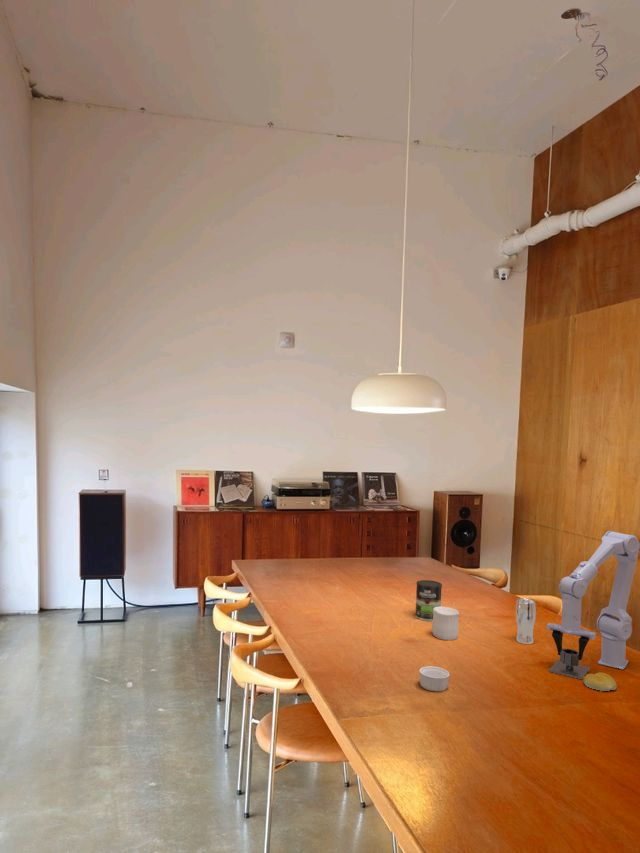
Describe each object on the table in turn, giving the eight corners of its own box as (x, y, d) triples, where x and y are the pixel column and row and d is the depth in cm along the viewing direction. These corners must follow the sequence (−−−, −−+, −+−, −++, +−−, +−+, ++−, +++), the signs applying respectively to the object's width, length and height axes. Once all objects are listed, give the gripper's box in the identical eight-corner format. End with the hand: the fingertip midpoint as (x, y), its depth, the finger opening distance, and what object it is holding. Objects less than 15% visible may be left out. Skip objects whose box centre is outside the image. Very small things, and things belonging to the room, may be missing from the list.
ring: (562, 657, 199) (563, 647, 199) (580, 662, 195) (581, 651, 195) (558, 662, 194) (559, 651, 194) (576, 667, 191) (577, 656, 191)
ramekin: (427, 677, 185) (428, 663, 185) (454, 686, 179) (454, 671, 179) (413, 686, 178) (413, 671, 178) (439, 695, 173) (440, 680, 173)
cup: (451, 642, 217) (452, 615, 217) (426, 636, 223) (427, 610, 223) (462, 636, 225) (463, 610, 225) (438, 630, 231) (439, 604, 231)
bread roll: (577, 682, 186) (578, 669, 186) (602, 680, 188) (602, 667, 188) (596, 694, 178) (596, 680, 178) (621, 691, 180) (622, 678, 180)
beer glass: (519, 636, 226) (520, 597, 226) (537, 641, 222) (538, 600, 222) (511, 641, 221) (513, 600, 221) (530, 646, 217) (532, 604, 217)
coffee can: (439, 622, 240) (440, 587, 240) (413, 619, 243) (414, 584, 243) (441, 615, 250) (443, 581, 250) (417, 612, 253) (418, 579, 253)
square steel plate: (557, 661, 202) (558, 647, 202) (589, 669, 196) (590, 654, 196) (549, 671, 193) (549, 656, 193) (582, 680, 187) (582, 664, 187)
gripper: (545, 612, 196) (543, 654, 196) (592, 622, 187) (591, 666, 187) (550, 608, 202) (549, 648, 201) (597, 617, 193) (596, 659, 193)
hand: (570, 656), depth 195 cm, fingers closed on ring, 6 cm apart
